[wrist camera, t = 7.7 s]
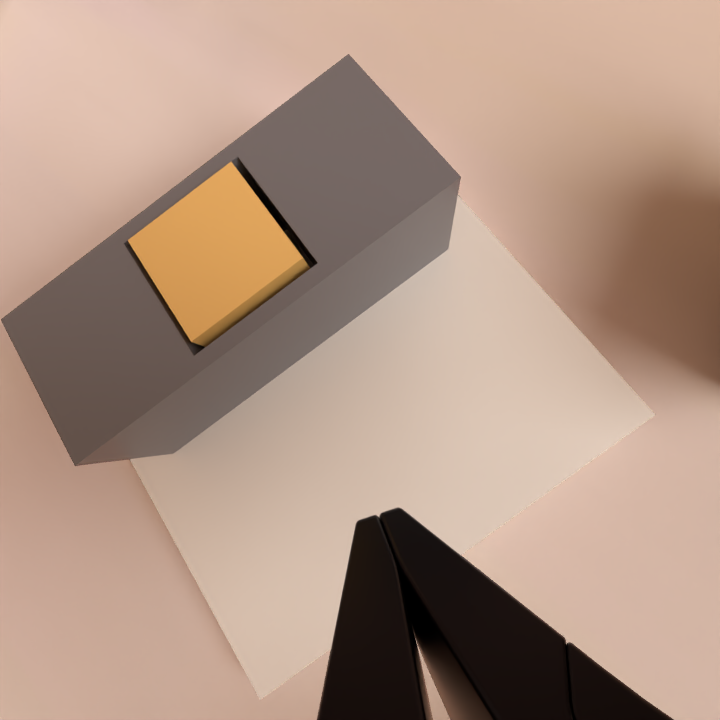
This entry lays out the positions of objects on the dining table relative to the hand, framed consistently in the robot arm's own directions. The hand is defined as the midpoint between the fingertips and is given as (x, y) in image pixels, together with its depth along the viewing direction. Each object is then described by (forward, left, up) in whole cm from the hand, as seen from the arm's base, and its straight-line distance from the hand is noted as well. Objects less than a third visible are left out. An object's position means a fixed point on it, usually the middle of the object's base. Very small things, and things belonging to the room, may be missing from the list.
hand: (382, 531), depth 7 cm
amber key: (+9, +5, -7) cm, 12 cm away
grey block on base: (+4, +3, -12) cm, 13 cm away
